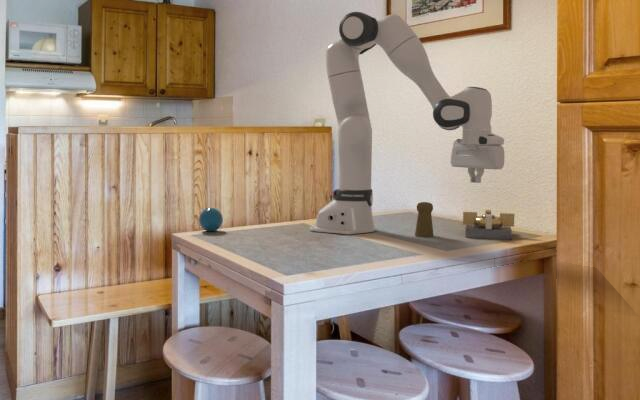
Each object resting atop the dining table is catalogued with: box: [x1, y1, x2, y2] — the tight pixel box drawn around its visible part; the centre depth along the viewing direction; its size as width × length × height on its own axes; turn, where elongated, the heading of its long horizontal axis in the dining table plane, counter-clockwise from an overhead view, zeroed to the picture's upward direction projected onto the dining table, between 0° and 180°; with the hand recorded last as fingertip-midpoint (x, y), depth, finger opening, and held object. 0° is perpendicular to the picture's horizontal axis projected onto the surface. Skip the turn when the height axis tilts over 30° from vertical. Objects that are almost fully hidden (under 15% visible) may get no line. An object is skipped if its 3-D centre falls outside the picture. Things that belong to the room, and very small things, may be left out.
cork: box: [414, 201, 434, 238], centre depth 187 cm, size 6×6×11 cm
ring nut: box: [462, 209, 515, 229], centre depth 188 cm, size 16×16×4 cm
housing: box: [464, 224, 513, 241], centre depth 189 cm, size 14×13×3 cm
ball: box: [198, 207, 224, 233], centre depth 194 cm, size 8×8×8 cm
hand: (475, 182), depth 184 cm, fingers closed
